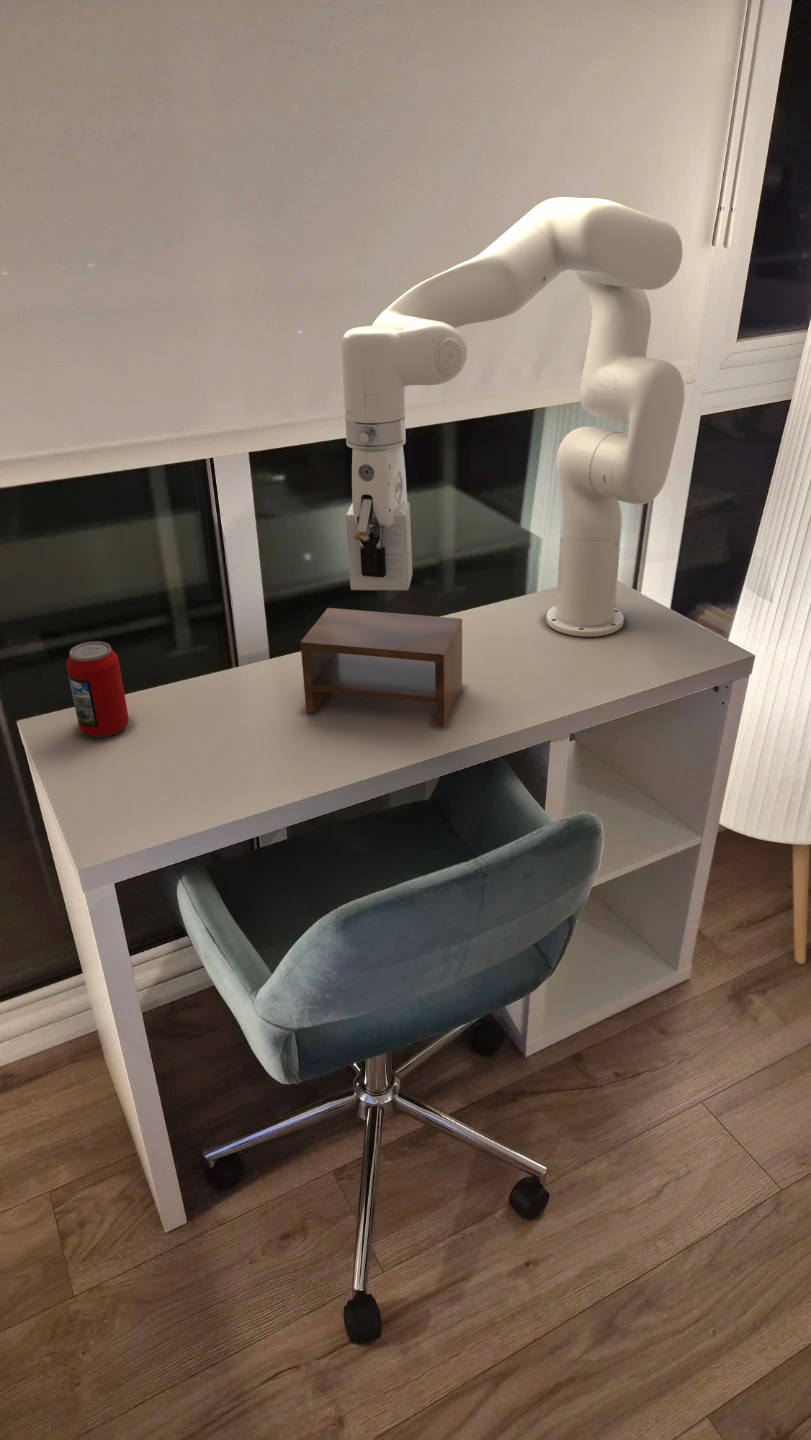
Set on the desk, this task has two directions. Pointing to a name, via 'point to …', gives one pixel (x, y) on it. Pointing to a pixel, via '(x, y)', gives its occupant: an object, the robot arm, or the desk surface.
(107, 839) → the desk surface
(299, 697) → the desk surface
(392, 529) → the small box
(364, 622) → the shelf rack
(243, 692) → the desk surface
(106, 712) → the beverage can
